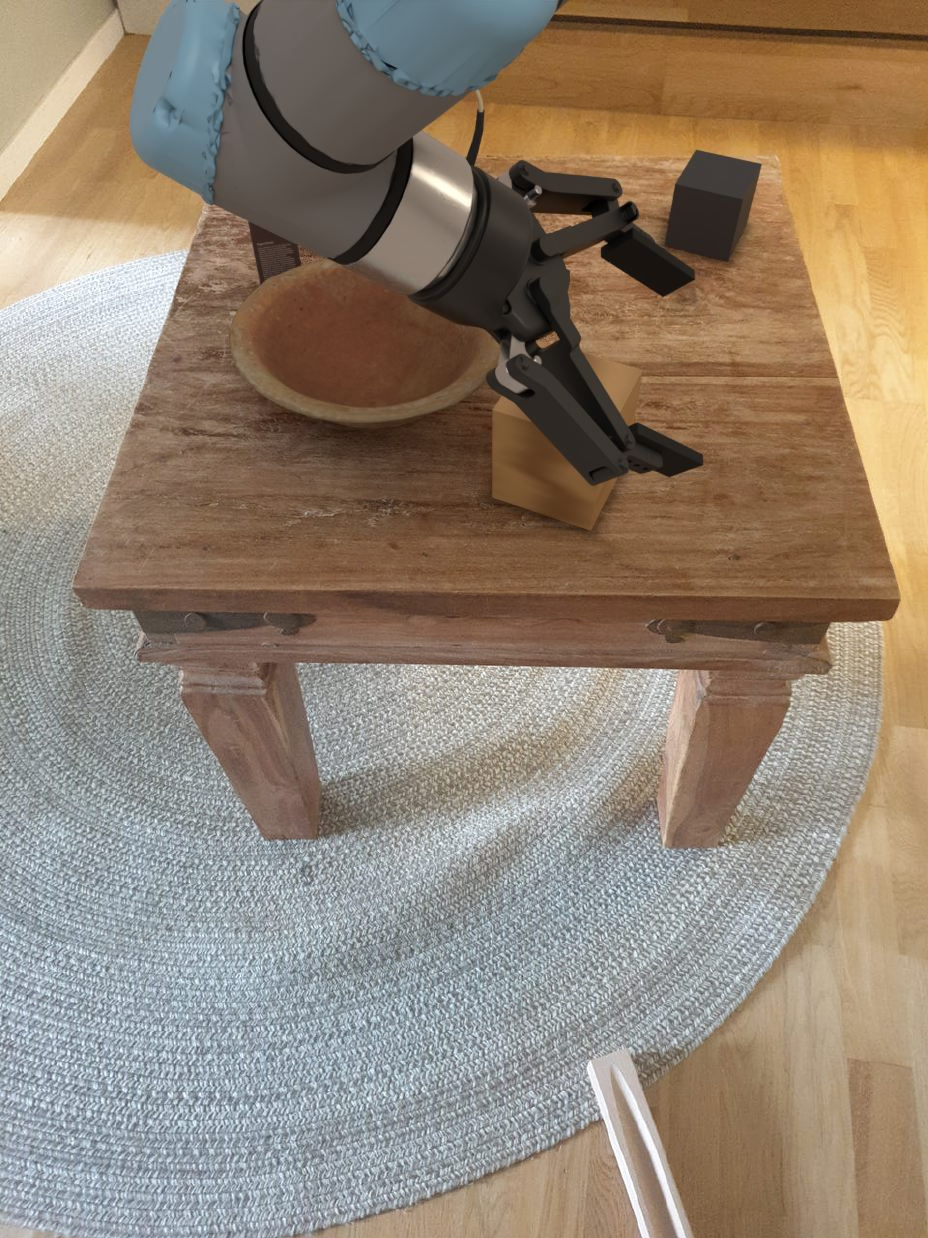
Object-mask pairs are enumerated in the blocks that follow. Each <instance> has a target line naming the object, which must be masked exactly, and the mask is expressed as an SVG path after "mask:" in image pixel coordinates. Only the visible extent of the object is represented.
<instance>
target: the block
mask: <svg viewBox="0 0 928 1238" xmlns="http://www.w3.org/2000/svg"><path fill="white" fill-rule="evenodd" d="M762 166H763V165H762V163H760V162H755V161H750V160H746V159H740V158H737V157H732V156H728V155H723V154H718V153H714V152H709V151H704V150H700V149H695V151H694V152H693V154H692V155H691V157H690V159H689V160H688V162H687V164H686V165H685V167H684V168H683V170H682V172H681V173H680V175H679V177H678V178H677V179H676V182H675V183H674V188H673V194H672V199H671V206H670V210H669V216H668V222H667V229H666V233H665V240H664V247H667V248H670V249H675V250H680V251H683V252H688V253H692V254H696V255H699V256H703V257H707V258H712V259H716V260H720V261H723V262H729V261H730V259H731V257H732V255H733V253H734V251H735V249H736V247H737V245H738V243H739V241H740V240H741V238H742V236H743V234H744V232H745V230H746V228H747V226H748V221H749V217H750V214H751V210H752V206H753V201H754V198H755V193H756V190H757V185H758V181H759V177H760V175H761V174H760V173H761V170H762Z"/></svg>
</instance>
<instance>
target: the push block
mask: <svg viewBox="0 0 928 1238" xmlns="http://www.w3.org/2000/svg"><path fill="white" fill-rule="evenodd" d="M536 343H537V344H538V346H539V347H541V348H545V347H547V346H549V345H550V344H552V343H551V342H548V341H544V340H541V339H539V340H536ZM583 354H584V355H585V357H586V359H587V360H588V362H589V363H590V365H591V367H592V368H593V370H594V372H595V373H596V375H597V377H598V378H599V380H600V381H601V383H602V385H603V386H604V388H605V390H606V391H607V393H608V394H609V396H610V398H611V399H612V401H613V403H614V404H615V406H616V407H617V409H618V411H619V412H620V414H621V416H622V417H623V419H624V421H625V422H626V424H627V425H628V426H630V425H632V424H635V419H636V414H637V413H636V412H637V406H638V402H639V401H638V400H639V395H640V389H641V384H642V377H643V372H644V370H643V369H642V368H640V367H639V368H638V367H635V366H631V365H628V364H624V363H621V362H618V361H613V360H611V359H607V358H604V357H600V356H596V355H593V354H589V353H586V352H583ZM499 397H500V398H498V400H497V402H496V403H495V405H494V406H493V408H492V410H491V411H492V414H491V415H492V418H491V421H492V423H491V427H492V428H491V433H492V435H491V436H492V437H491V440H492V442H491V444H492V445H491V454H492V455H491V498H493V499H495V500H498V501H502V502H504V503H507V504H510V505H513V506H516V507H518V508H521V509H525V510H528V511H530V512H533V513H537V514H539V515H542V516H545V517H548V518H551V519H555V520H556V521H560V522H563V523H566V524H569V525H572V526H575V527H578V528H581V529H583V530H587V531H589V532H591V531H592V529H593V527H594V525H595V523H596V522H597V520H598V517H599V515H600V514H601V511H602V509H603V508H604V506H605V504H606V502H607V500H608V498H609V496H610V495H611V493H612V490H613V488H614V486H615V485H616V482H617V480H618V479H619V477H616V478H614V479H611V480H608V481H606V482H603V483H601V484H598V485H595V486H592V485H590V484H589V483H588V482H587V481H586V480H585V479H584V478H583V477H582V476H581V475H580V473H579V472H578V471H577V470H576V469H575V468H574V467H573V466H572V465H571V464H570V463H569V462H568V460H567V459H566V458H565V457H564V456H563V455H562V454H561V453H560V452H559V451H558V450H557V449H556V447H555V446H554V445H553V444H552V443H551V442H550V441H549V440H548V439H547V438H546V437H545V435H544V434H543V433H542V432H541V431H540V430H539V429H538V428H537V427H536V426H535V425H534V424H533V422H532V421H531V420H530V419H529V418H528V417H527V416H526V415H525V414H524V413H523V412H522V411H521V409H520V408H519V407H518V406H517V405H516V404H515V403H514V402H512V401H510V400H509V399H507V398H505V397H504V396H502V395H501V396H499Z"/></svg>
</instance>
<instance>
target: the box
mask: <svg viewBox="0 0 928 1238" xmlns="http://www.w3.org/2000/svg"><path fill="white" fill-rule="evenodd" d="M247 223H248V227H249V234H250V239H251V240H250V241H251V244H252V250H253V255H254V260H255V265H256V270H257V274H258V280H259V286H260V285H261V284H262V283H263V282H264V281H266V280H267V279H268V278H270V277H272V276H277V275H279V274H281V273H283V272H285V271H288V270H290V269H292V268H295V267H298V266H301V265H302V261H301V255H300V249H299V245H297V244H295V243H293V242H291V241H289V240H286V239H284V238H282V237H280V236H278V235H276V234H274V233H272V232H270V231H268V230H266V229H264V228H262V227H259V226H257V225H255V224H253V223H251V222H249V221H247Z"/></svg>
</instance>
